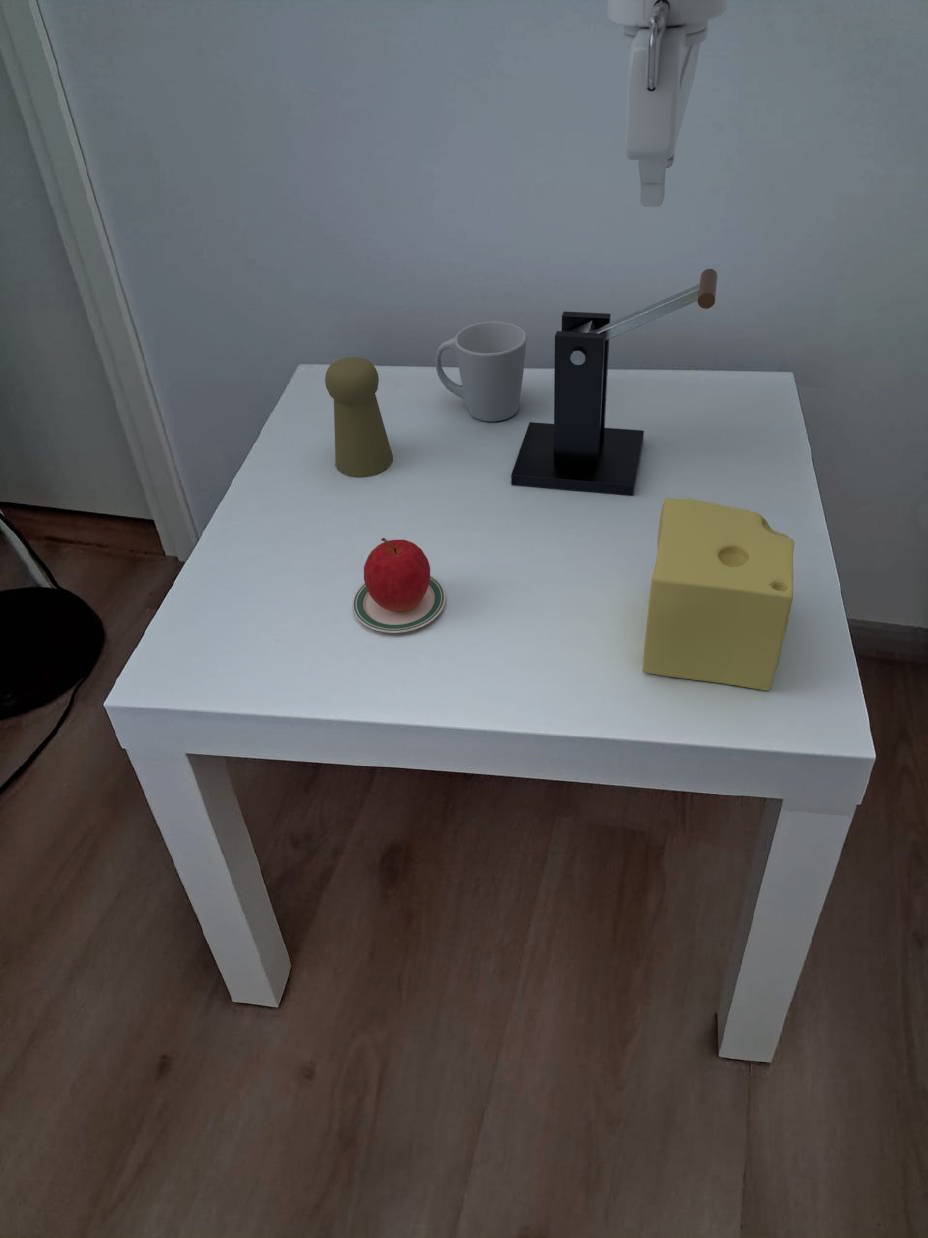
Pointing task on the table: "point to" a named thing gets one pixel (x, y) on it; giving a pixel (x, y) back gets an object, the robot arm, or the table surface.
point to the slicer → (579, 422)
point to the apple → (398, 589)
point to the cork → (357, 418)
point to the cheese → (718, 595)
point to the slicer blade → (660, 307)
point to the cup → (487, 368)
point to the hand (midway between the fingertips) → (657, 183)
